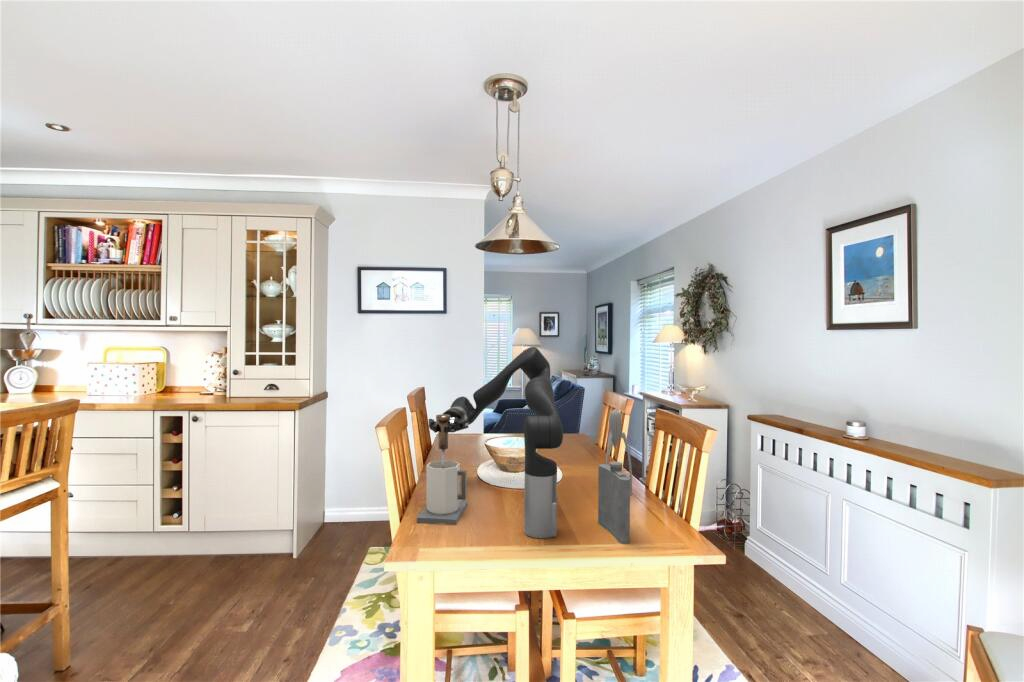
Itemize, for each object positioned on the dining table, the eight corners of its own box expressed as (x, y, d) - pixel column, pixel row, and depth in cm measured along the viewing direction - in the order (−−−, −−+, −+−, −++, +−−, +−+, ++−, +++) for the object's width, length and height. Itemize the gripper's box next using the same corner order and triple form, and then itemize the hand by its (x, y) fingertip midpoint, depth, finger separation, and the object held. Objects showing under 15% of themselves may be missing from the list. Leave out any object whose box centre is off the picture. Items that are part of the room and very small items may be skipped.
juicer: (632, 501, 169) (633, 412, 168) (605, 499, 171) (606, 411, 170) (631, 491, 179) (632, 407, 178) (605, 489, 181) (606, 406, 180)
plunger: (458, 484, 160) (458, 413, 160) (452, 492, 153) (452, 418, 152) (434, 483, 161) (434, 413, 160) (427, 491, 154) (427, 417, 153)
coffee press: (471, 505, 164) (471, 458, 164) (460, 524, 148) (460, 472, 148) (431, 503, 166) (431, 457, 165) (416, 522, 150) (416, 471, 149)
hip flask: (596, 522, 151) (596, 456, 150) (608, 520, 152) (609, 455, 152) (620, 544, 136) (621, 471, 135) (634, 542, 137) (635, 470, 136)
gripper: (433, 407, 171) (418, 416, 154) (474, 408, 170) (463, 417, 152) (433, 429, 171) (418, 440, 154) (474, 430, 170) (463, 442, 153)
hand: (440, 429), depth 153 cm, fingers closed on plunger, 3 cm apart
